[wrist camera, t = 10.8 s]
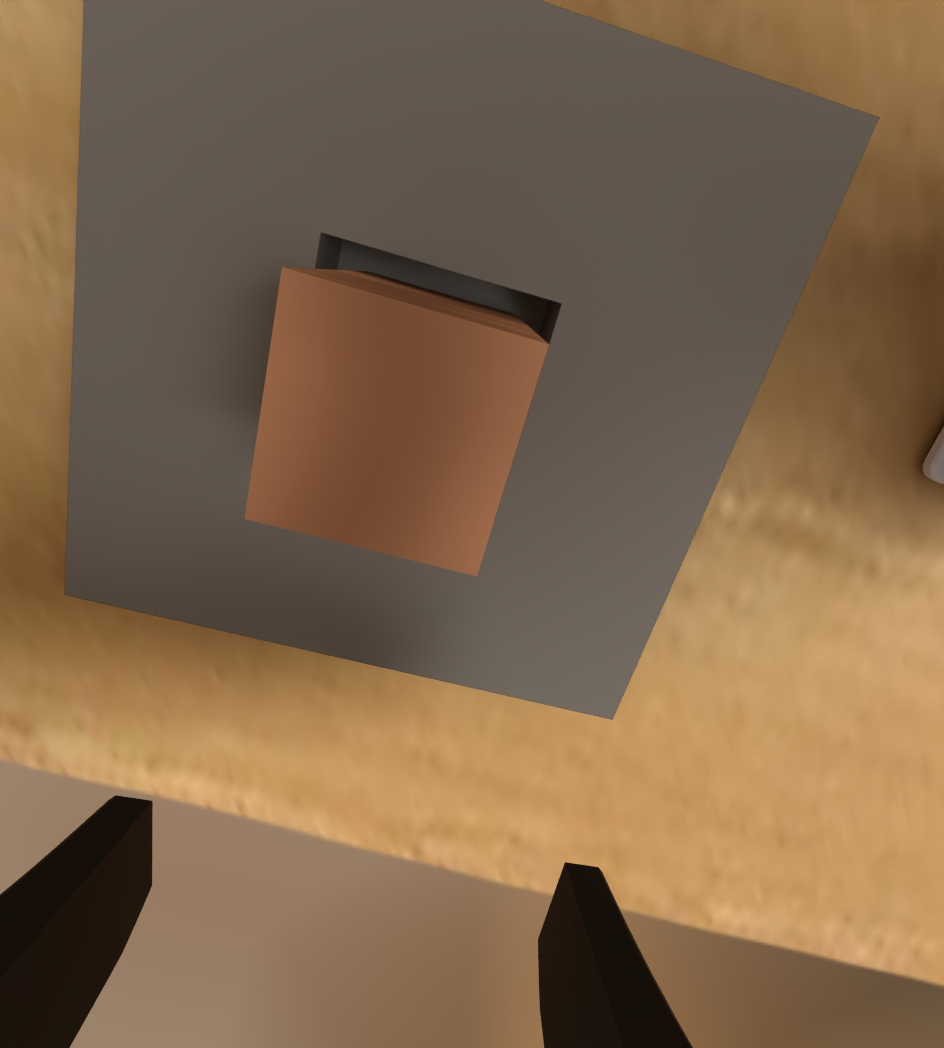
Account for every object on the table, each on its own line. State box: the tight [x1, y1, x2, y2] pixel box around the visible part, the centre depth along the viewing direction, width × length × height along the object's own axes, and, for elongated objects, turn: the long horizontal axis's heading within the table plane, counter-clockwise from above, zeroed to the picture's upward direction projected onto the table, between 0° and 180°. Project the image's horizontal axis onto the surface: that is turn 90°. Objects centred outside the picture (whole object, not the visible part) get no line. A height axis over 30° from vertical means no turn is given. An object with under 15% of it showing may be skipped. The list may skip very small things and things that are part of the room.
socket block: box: [65, 0, 879, 720], centre depth 16 cm, size 16×16×3 cm
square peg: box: [245, 267, 549, 576], centre depth 13 cm, size 4×4×8 cm
